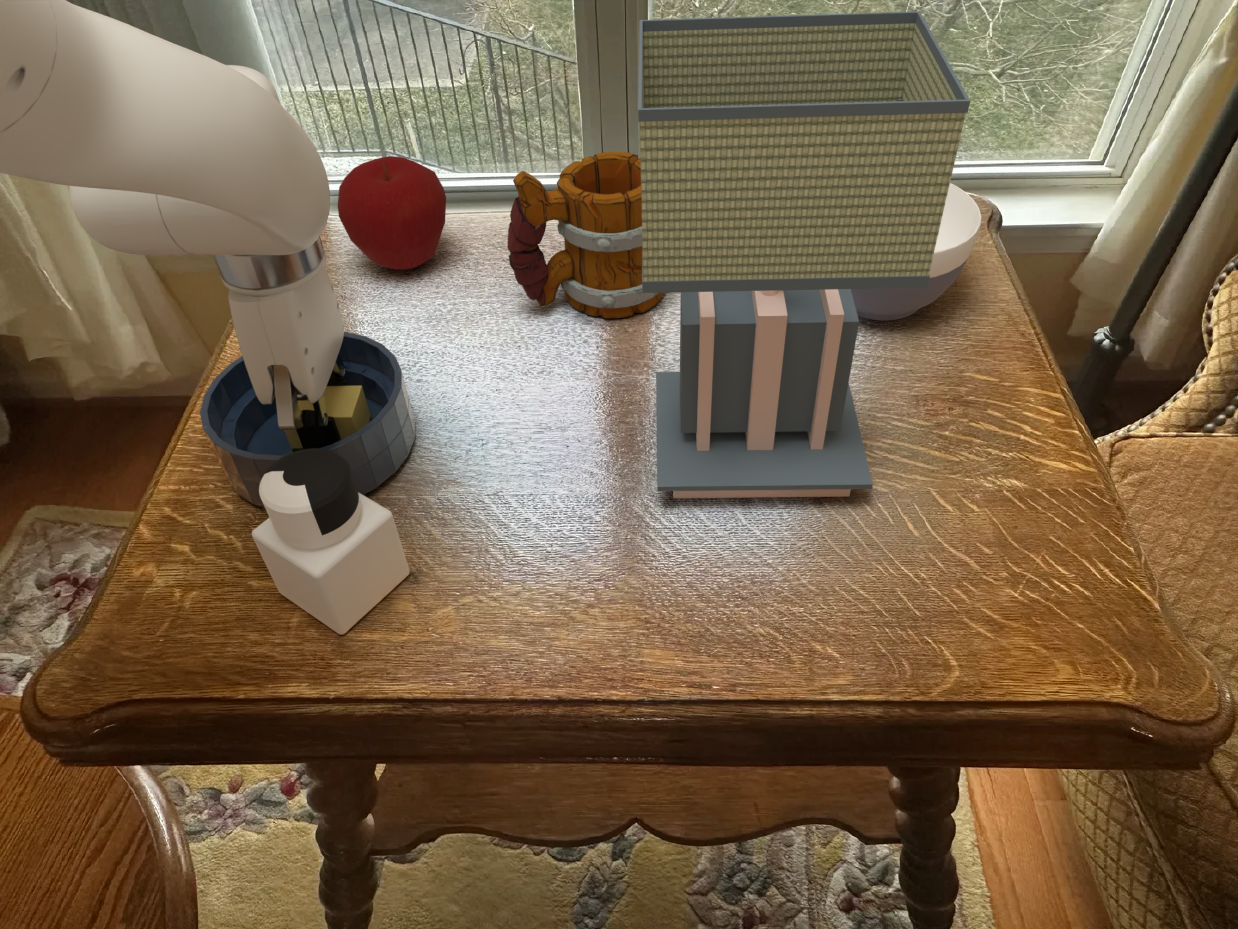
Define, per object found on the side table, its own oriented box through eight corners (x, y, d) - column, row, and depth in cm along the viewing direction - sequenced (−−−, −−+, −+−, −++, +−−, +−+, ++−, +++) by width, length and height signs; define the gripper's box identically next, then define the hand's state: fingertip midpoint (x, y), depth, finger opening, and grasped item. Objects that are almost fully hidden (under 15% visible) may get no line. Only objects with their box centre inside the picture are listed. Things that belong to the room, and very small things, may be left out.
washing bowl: (313, 546, 74) (289, 490, 69) (188, 465, 81) (159, 408, 76) (454, 430, 83) (442, 372, 78) (330, 365, 90) (312, 310, 85)
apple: (342, 288, 99) (312, 187, 91) (371, 234, 107) (346, 136, 98) (443, 291, 98) (422, 189, 90) (466, 236, 106) (449, 137, 97)
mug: (687, 303, 95) (689, 164, 84) (533, 346, 91) (515, 206, 80) (644, 251, 102) (641, 117, 92) (500, 289, 98) (479, 153, 88)
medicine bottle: (348, 533, 75) (307, 422, 66) (412, 573, 72) (378, 461, 63) (277, 593, 71) (224, 483, 62) (342, 638, 68) (295, 528, 59)
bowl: (790, 251, 101) (799, 168, 94) (941, 250, 100) (961, 166, 93) (805, 342, 90) (816, 256, 83) (975, 342, 89) (1000, 254, 82)
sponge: (294, 457, 80) (279, 418, 77) (306, 425, 83) (292, 386, 80) (364, 456, 80) (351, 416, 77) (373, 424, 83) (361, 385, 79)
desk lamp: (850, 390, 85) (918, 9, 62) (878, 506, 75) (971, 103, 52) (647, 393, 85) (639, 18, 62) (647, 508, 75) (638, 112, 52)
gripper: (251, 192, 74) (313, 373, 87) (177, 320, 62) (261, 507, 75) (345, 190, 74) (393, 371, 87) (288, 317, 62) (354, 505, 75)
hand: (331, 432), depth 81 cm, fingers closed on sponge, 4 cm apart
